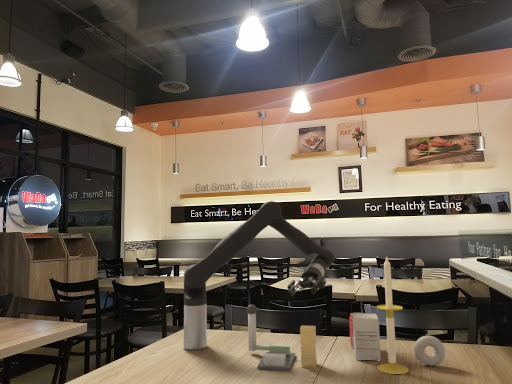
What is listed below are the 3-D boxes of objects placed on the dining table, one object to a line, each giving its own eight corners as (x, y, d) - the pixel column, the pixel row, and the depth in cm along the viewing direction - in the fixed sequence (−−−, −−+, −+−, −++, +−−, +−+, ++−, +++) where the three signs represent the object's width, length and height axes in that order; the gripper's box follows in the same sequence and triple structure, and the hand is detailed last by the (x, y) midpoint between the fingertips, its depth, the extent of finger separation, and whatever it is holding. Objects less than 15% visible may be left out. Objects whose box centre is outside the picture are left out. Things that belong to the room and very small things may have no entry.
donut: (416, 367, 132) (414, 336, 134) (413, 363, 136) (412, 334, 137) (447, 368, 131) (445, 337, 132) (444, 364, 134) (442, 334, 135)
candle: (394, 363, 137) (388, 254, 141) (415, 372, 128) (408, 255, 132) (371, 367, 133) (365, 255, 137) (390, 376, 124) (384, 257, 128)
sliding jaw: (248, 348, 153) (248, 303, 155) (291, 350, 150) (290, 304, 151) (245, 353, 148) (244, 306, 150) (289, 355, 144) (288, 307, 146)
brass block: (302, 363, 139) (301, 325, 140) (316, 364, 138) (315, 325, 139) (301, 367, 135) (300, 328, 136) (316, 367, 134) (314, 328, 135)
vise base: (266, 354, 150) (266, 343, 150) (295, 355, 147) (295, 344, 148) (257, 369, 133) (257, 356, 134) (289, 371, 131) (289, 357, 132)
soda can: (369, 350, 152) (368, 316, 153) (350, 349, 153) (349, 315, 155) (368, 345, 159) (366, 312, 160) (350, 344, 160) (348, 312, 162)
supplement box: (354, 353, 149) (352, 312, 151) (378, 354, 147) (376, 313, 149) (355, 360, 140) (353, 317, 142) (381, 361, 139) (378, 318, 140)
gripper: (294, 268, 160) (281, 285, 146) (327, 264, 154) (317, 280, 140) (299, 286, 161) (286, 304, 146) (332, 281, 155) (322, 300, 140)
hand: (301, 292), depth 143 cm, fingers open, 8 cm apart
